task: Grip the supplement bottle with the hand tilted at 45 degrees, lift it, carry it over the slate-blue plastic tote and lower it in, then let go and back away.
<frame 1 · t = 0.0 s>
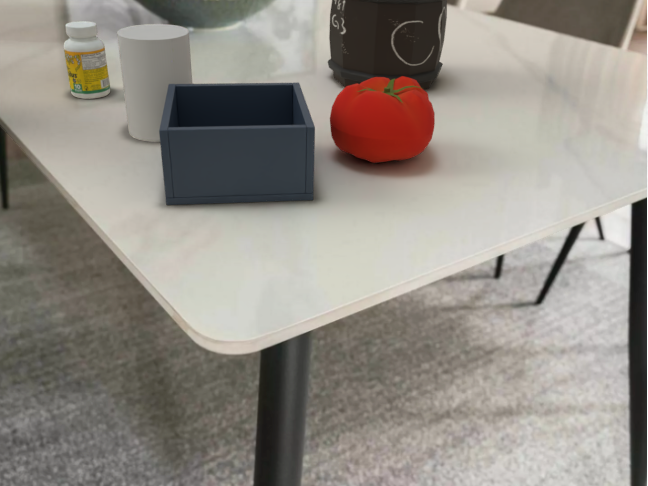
tomato: (383, 156, 80), on the table
supplement bottle: (91, 95, 96), on the table
dark plant pot: (385, 79, 107), on the table
cup: (162, 131, 85), on the table
tote: (238, 173, 74), on the table
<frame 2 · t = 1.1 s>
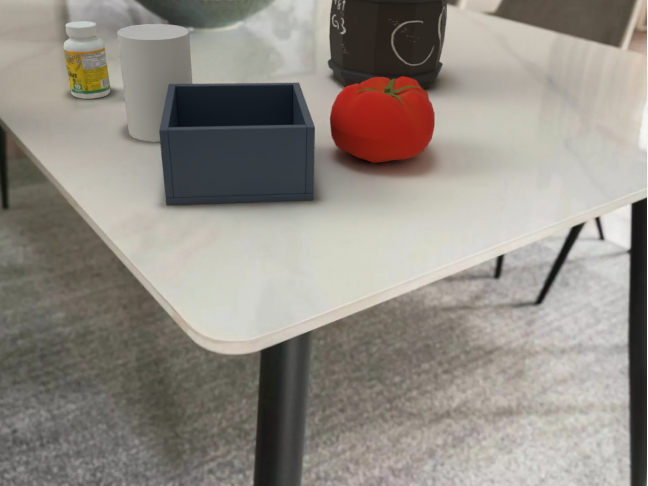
nothing on the table moved.
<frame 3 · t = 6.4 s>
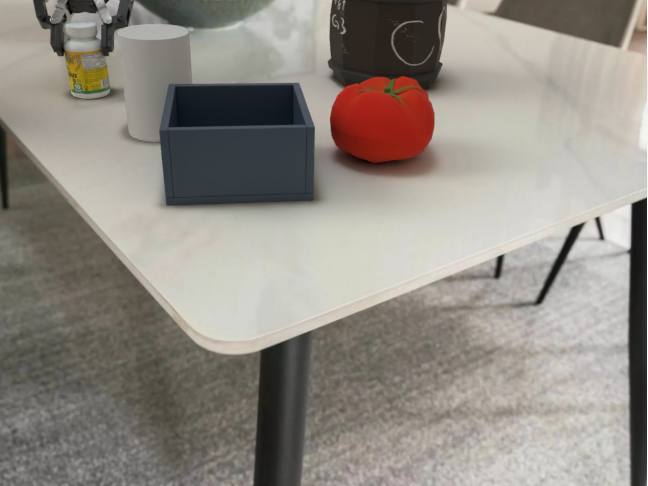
hand: (82, 52, 92), 6 cm above the table, tool tilted 45°, fingers closed on supplement bottle, 5 cm apart
supplement bottle: (91, 95, 96), on the table, touching gripper
everything else where it was.
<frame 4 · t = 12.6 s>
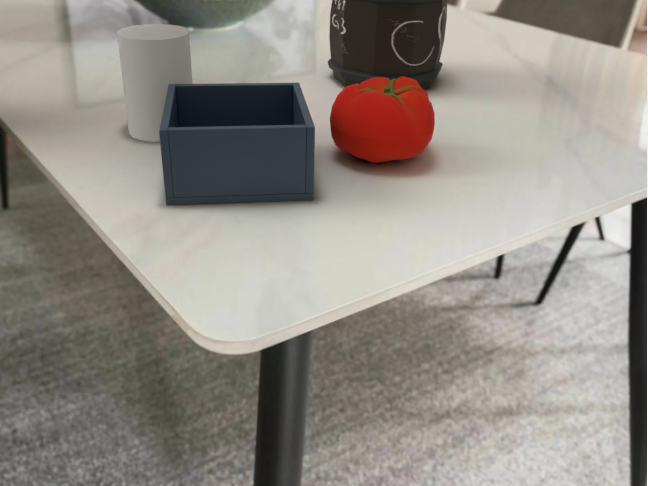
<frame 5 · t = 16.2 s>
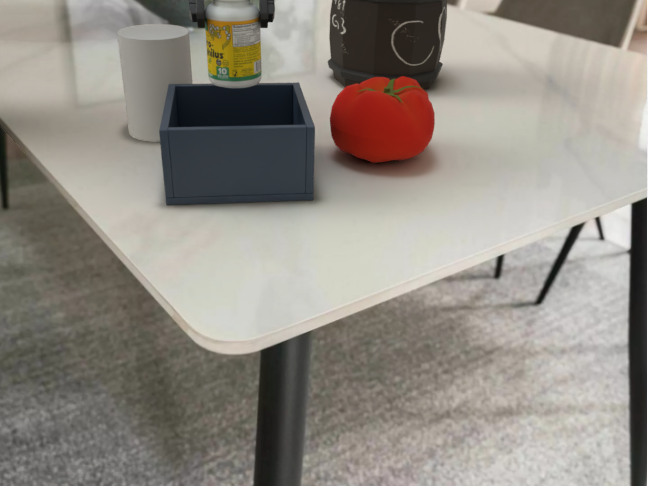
hand: (233, 22, 64), 16 cm above the table, tool tilted 45°, fingers closed on supplement bottle, 5 cm apart
supplement bottle: (235, 83, 69), point 10 cm above the table, touching gripper
everything else where it was.
when the fingers open (7 cm above the table, at t = 19.2 s): supplement bottle stays where it is, resting on tote.
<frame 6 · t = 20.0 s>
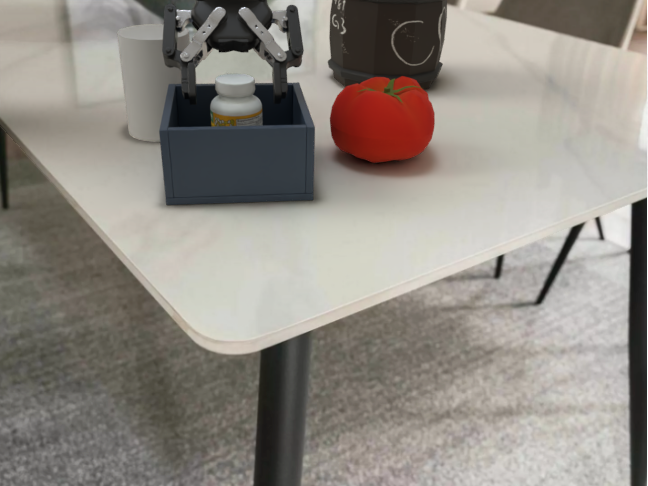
hand: (235, 101, 69), 9 cm above the table, tool tilted 45°, fingers open, 8 cm apart
supplement bottle: (238, 167, 74), point 1 cm above the table, touching tote
everything else where it was.
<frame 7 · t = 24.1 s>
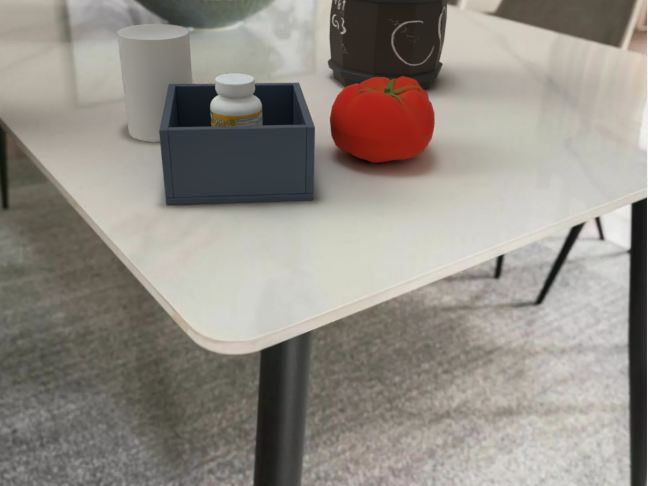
nothing on the table moved.
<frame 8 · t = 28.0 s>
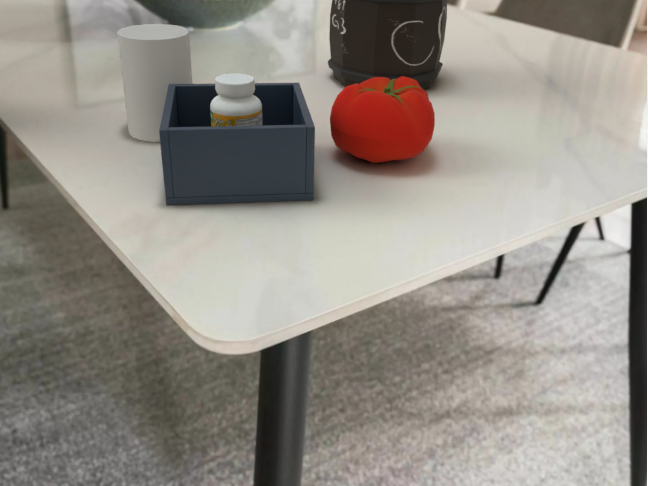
nothing on the table moved.
at the end: supplement bottle inside the target area in the tote (0.2 cm from its centre), point 0.6 cm above the tote's base; the gripper is holding nothing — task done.
